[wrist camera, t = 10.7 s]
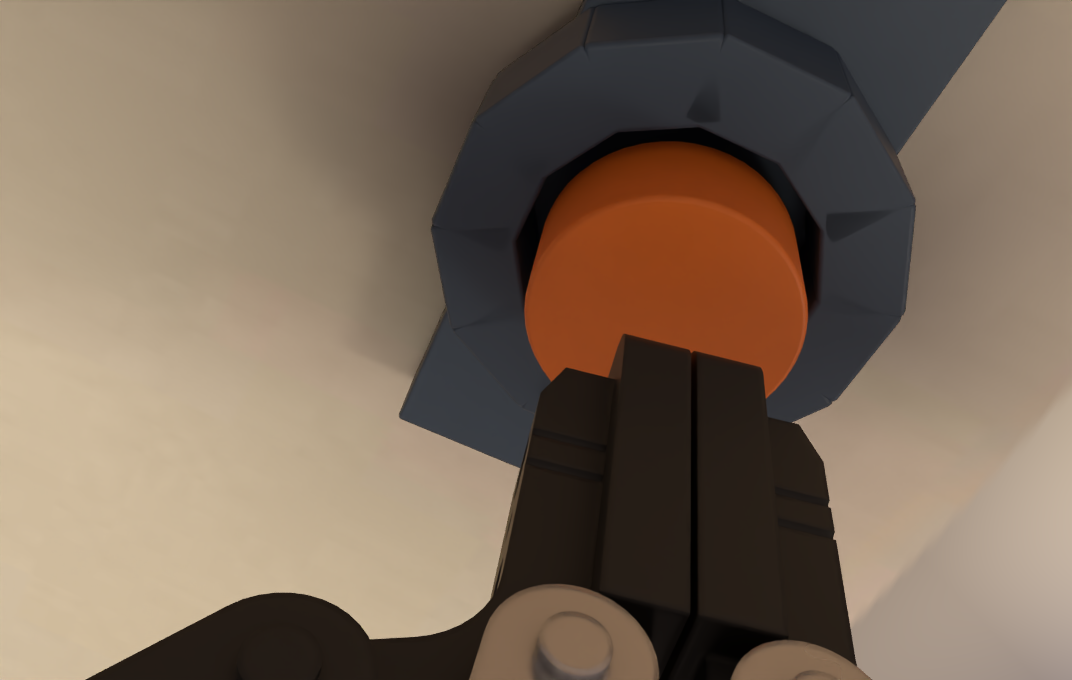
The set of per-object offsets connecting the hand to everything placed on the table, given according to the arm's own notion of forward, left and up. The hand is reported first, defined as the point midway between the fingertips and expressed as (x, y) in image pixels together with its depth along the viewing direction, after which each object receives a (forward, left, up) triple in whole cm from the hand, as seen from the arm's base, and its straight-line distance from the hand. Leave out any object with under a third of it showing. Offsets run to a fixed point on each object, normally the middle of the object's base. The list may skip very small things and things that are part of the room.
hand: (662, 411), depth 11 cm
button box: (0, 0, -6) cm, 6 cm away
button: (0, 0, -4) cm, 4 cm away
